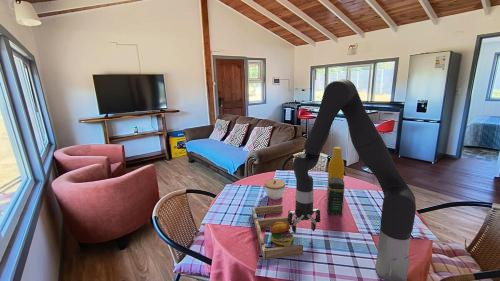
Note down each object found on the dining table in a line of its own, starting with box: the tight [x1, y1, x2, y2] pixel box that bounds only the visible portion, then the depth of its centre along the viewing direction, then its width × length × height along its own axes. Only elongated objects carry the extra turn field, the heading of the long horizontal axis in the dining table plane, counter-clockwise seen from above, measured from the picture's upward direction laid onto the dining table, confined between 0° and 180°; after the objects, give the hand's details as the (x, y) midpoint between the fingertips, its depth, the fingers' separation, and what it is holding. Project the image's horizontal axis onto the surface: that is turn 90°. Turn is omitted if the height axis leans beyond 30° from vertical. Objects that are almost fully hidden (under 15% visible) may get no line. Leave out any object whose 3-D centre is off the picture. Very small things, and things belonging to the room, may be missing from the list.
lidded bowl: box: [264, 178, 286, 200], centre depth 145 cm, size 13×13×11 cm
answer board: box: [251, 204, 304, 260], centre depth 112 cm, size 34×17×5 cm, turn 7°
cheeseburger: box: [269, 222, 295, 248], centre depth 105 cm, size 10×11×10 cm
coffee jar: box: [326, 177, 345, 216], centre depth 126 cm, size 10×8×19 cm
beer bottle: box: [327, 146, 345, 191], centre depth 147 cm, size 9×9×29 cm
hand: (303, 231), depth 106 cm, fingers open, 8 cm apart
